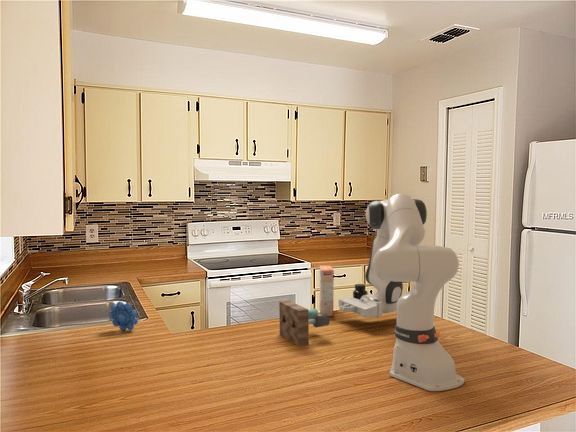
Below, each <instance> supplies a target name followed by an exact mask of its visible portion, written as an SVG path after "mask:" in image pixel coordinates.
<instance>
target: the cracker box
mask: <svg viewBox="0 0 576 432" xmlns="http://www.w3.org/2000/svg"><path fill="white" fill-rule="evenodd" d="M334 274H335V270H334V269H333V266H332V265H319V312H320V313H319V314H324V313H326V314H328V316H329V317H334V285H335V284H334V283H335V282H334V280H335V279H334V277H335V275H334Z"/></svg>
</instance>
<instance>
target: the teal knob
mask: <svg viewBox="0 0 576 432" xmlns="http://www.w3.org/2000/svg"><path fill="white" fill-rule="evenodd" d="M318 314H319V310H318V309H317V308H312V309H311V308H310V309H308V320H310V319H312V316H313V315H318ZM285 319H286V317H285Z"/></svg>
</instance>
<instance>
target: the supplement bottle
mask: <svg viewBox="0 0 576 432" xmlns="http://www.w3.org/2000/svg"><path fill="white" fill-rule="evenodd" d="M363 295H369V294H368V291H367V290H366V284H364V283H357V284H354V290H353V291H352V298H356V299H359V300H360V299H361V297H362V296H363Z"/></svg>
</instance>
